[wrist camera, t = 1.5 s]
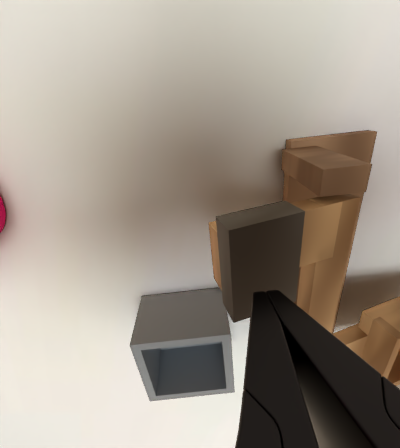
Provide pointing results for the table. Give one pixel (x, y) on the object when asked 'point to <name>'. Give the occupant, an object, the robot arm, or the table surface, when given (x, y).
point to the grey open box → (183, 344)
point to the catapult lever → (302, 269)
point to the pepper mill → (2, 214)
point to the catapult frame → (328, 171)
